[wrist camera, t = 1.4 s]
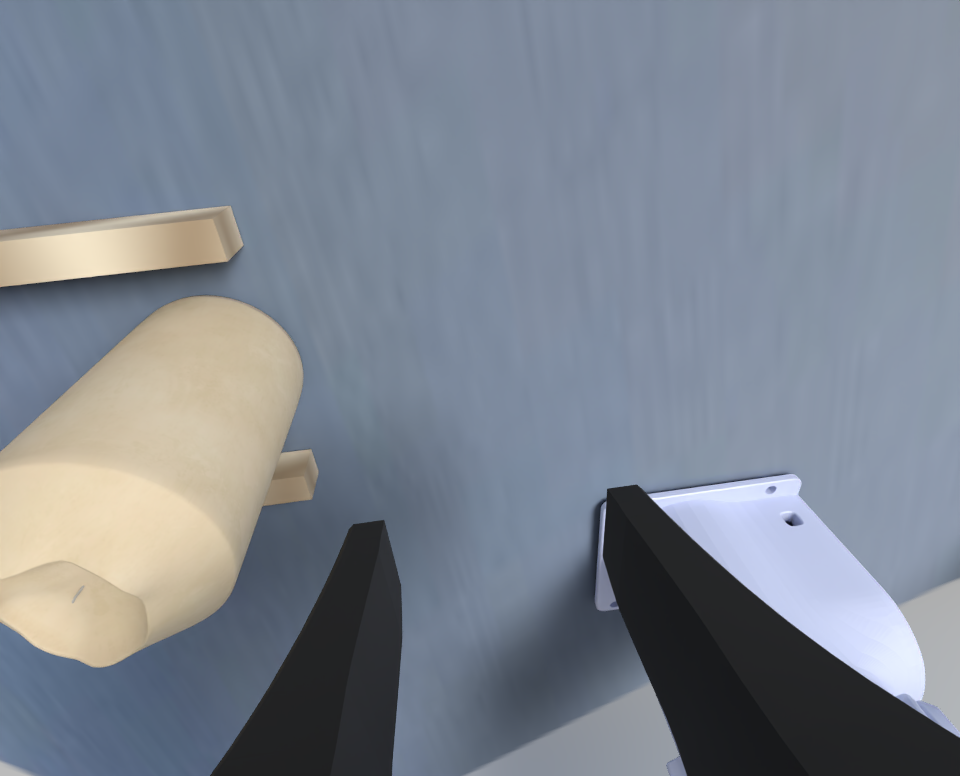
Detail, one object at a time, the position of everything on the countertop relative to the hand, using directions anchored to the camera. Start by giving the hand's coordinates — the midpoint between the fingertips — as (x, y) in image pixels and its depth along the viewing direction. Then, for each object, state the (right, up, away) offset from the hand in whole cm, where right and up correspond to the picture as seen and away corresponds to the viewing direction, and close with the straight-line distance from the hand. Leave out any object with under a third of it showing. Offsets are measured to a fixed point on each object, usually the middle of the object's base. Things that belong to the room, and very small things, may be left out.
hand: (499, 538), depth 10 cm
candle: (-10, +4, +8) cm, 13 cm away
